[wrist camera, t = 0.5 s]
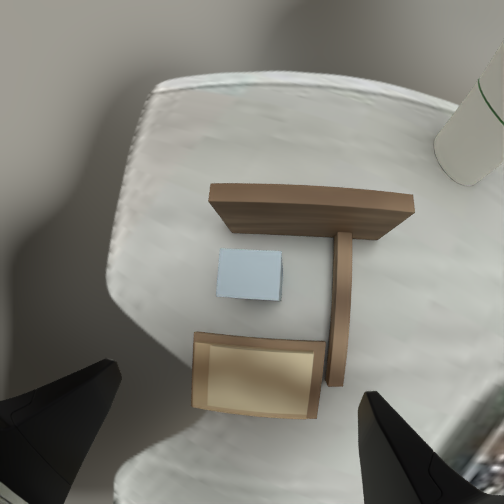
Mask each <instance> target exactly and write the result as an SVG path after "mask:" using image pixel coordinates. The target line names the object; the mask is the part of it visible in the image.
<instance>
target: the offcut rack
mask: <svg viewBox="0 0 504 504" xmlns="http://www.w3.org/2000/svg"><path fill="white" fill-rule="evenodd" d="M208 202H209V203H210V204H211V205H212V207H213V208H214V209H215V211H216V212H217V213H218V215H219V216H220V217H221V219H222V220H223V221H224V223H225V224H226V225H227V227H228V228H229V229H230V231H231V232H232V233H245V234H270V235H292V236H313V237H332V238H334V254H333V287H332V306H331V322H330V335H329V346H328V357H327V366H326V375H325V381H326V383H327V385H328V387H340V386H343V382H344V374H345V366H346V357H347V347H348V336H349V323H350V308H351V287H352V239H368V240H378V239H380V238H381V237H382V236H384V235H385V234H387V233H388V232H389V231H391V230H392V229H393V228H395V227H396V226H398V225H399V224H400V223H402V222H403V221H404V220H406V219H407V218H408V217H410V216H411V215H412V214H414V213H415V208H414V199H413V195H410V194H402V193H394V192H384V191H375V190H364V189H353V188H340V187H326V186H308V185H286V184H243V183H216V184H211V185H210V192H209V200H208ZM325 345H326V342H325V341H307V340H285V339H269V338H255V337H243V336H233V335H223V334H214V333H205V332H194V343H193V364H192V394H191V406H192V407H195V408H200V409H205V410H211V411H217V412H224V413H231V414H239V415H248V416H258V417H270V418H286V419H317V412H318V406H319V398H320V391H321V383H322V374H323V365H324V356H325Z"/></svg>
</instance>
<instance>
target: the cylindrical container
mask: <svg viewBox="0 0 504 504" xmlns="http://www.w3.org/2000/svg"><path fill="white" fill-rule="evenodd" d="M434 150H435V154H436V157H437V160H438V162H439V164H440V165H441V167H442V168H443V170H444V171H445V172H446V173H447V175H448V176H449V177H450V178H452V179H453V180H454V181H456V182H457V183H459V184H461V185H464V186H472V185H474V184H476V183H477V182H478V181H480V180H481V179H482V178H484V177H485V176H486V175H488V174H489V173H490V172H492V171H493V170H494V169H496V168H497V167H498V166H500V165H501V164H502V163H503V162H504V40H503V42H502V44H501V45H500V47H499V49H498V50H497V52H496V53H495V55H494V56H493V58H492V60H491V61H490V63H489V64H488V66H487V67H486V69H485V70H484V72H483V73H482V75H481V76H480V78H479V79H478V81H477V82H476V84H475V85H474V86H473V88H472V89H471V91H470V92H469V94H468V95H467V96H466V98H465V99H464V100H463V102H462V103H461V105H460V106H459V107H458V109H457V110H456V111H455V113H454V114H453V115H452V117H451V118H450V119H449V121H448V122H447V123H446V125H445V126H444V127H443V128H442V130H441V131H440V132H439V134H438V135H437V136H436V138H435V141H434Z"/></svg>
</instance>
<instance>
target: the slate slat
mask: <svg viewBox="0 0 504 504" xmlns="http://www.w3.org/2000/svg"><path fill="white" fill-rule="evenodd" d="M282 279H283V265H282V251H267V250H245V249H224V248H220V254H219V265H218V277H217V290H216V296H219V297H230V298H242V299H256V300H272V301H281V295H282Z"/></svg>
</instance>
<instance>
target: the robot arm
mask: <svg viewBox="0 0 504 504" xmlns="http://www.w3.org/2000/svg"><path fill="white" fill-rule="evenodd" d="M121 380H122V377H121V373H120V370H119V367H118V364H117V362H116V361H115V360H112V359H109V358H106V359H103V360H101V361H99V362H97V363H95V364H92V365H90V366H88V367H86V368H83V369H81V370H79V371H77V372H74V373H72V374H70V375H67V376H65V377H63V378H60V379H58V380H56V381H54V382H51V383H49V384H46V385H44V386H42V387H39V388H37V389H34V390H32V391H30V392H27V393H24V394H22V395H19V396H16V397H13V398H10V399H6V400H3V401H0V504H64V502H65V499H66V497H67V495H68V493H69V491H70V488H71V486H72V484H73V482H74V479H75V478H76V475H77V473H78V471H79V469H80V467H81V465H82V463H83V461H84V459H85V457H86V455H87V453H88V451H89V449H90V447H91V445H92V443H93V441H94V439H95V437H96V435H97V433H98V431H99V429H100V427H101V426H102V424H103V422H104V420H105V418H106V416H107V414H108V412H109V410H110V408H111V405H112V403H113V400H114V398H115V395H116V393H117V390H118V388H119V385H120V383H121ZM358 446H359V457H360V465H361V474H362V483H363V494H364V504H504V496H503V495H490V494H487V493H484V492H482V491H480V490H479V489H477V488H476V487H475V486H473V485H472V484H471V483H469V482H468V481H467V480H465V479H464V478H463V477H462V476H460V475H459V474H458V473H457V472H455V471H454V470H453V469H452V468H451V467H450V466H448V465H447V464H446V463H445V462H444V461H443V460H442V459H441V458H440V457H439V456H438V455H437V454H436V453H435V452H433V450H432V448H431V447H430V446H429V445H428V444H427V443H426V442H425V441H424V440H423V439H422V438H421V437H420V436H419V435H418V434H417V433H416V432H415V431H414V430H413V429H412V428H411V427H410V425H409V424H408V423H407V422H406V421H405V420H404V419H403V418H402V417H401V416H400V415H399V414H398V413H397V412H396V411H395V410H394V409H393V408H392V407H391V406H390V404H389V403H388V402H387V401H386V400H385V399H384V398H383V397H382V396H381V395H380V394H379V393H378V392H377V391H366V392H365V393H364V395H363V397H362V400H361V402H360V405H359V407H358Z"/></svg>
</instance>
